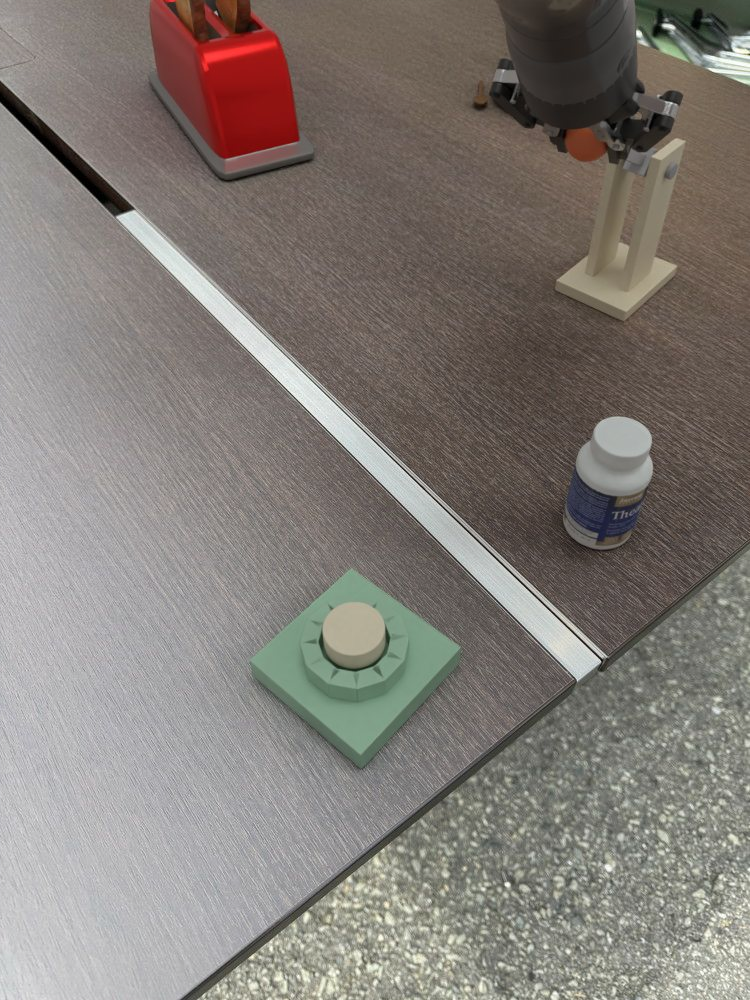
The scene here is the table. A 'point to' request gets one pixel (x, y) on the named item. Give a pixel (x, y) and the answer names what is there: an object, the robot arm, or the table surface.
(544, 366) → the table surface
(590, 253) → the bracket
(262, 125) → the toaster
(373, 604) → the button block
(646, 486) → the pill bottle
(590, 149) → the lever
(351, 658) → the button
